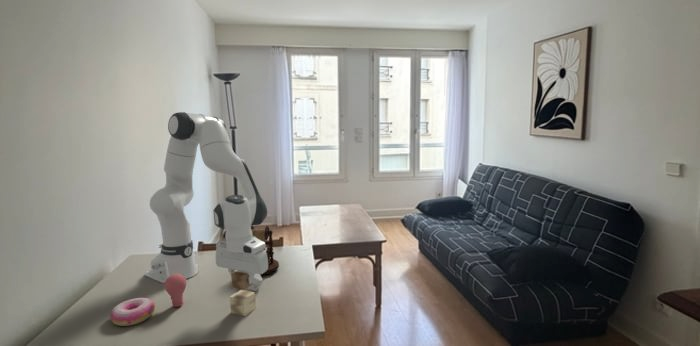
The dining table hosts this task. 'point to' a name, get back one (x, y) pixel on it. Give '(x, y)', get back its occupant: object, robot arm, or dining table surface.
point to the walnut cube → (240, 280)
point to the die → (255, 283)
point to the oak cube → (242, 302)
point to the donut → (132, 311)
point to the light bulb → (176, 288)
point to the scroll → (263, 237)
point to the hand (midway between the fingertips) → (242, 281)
